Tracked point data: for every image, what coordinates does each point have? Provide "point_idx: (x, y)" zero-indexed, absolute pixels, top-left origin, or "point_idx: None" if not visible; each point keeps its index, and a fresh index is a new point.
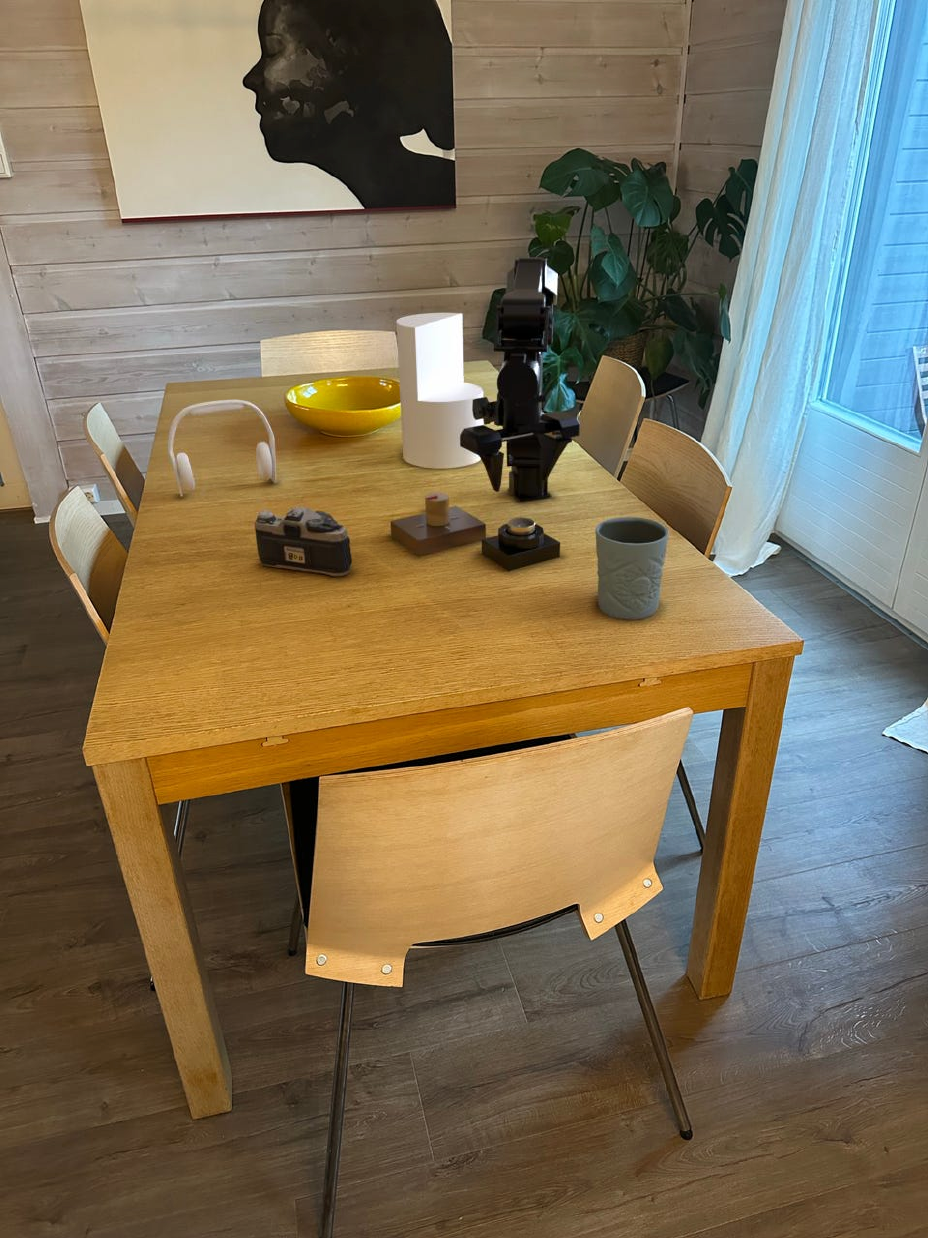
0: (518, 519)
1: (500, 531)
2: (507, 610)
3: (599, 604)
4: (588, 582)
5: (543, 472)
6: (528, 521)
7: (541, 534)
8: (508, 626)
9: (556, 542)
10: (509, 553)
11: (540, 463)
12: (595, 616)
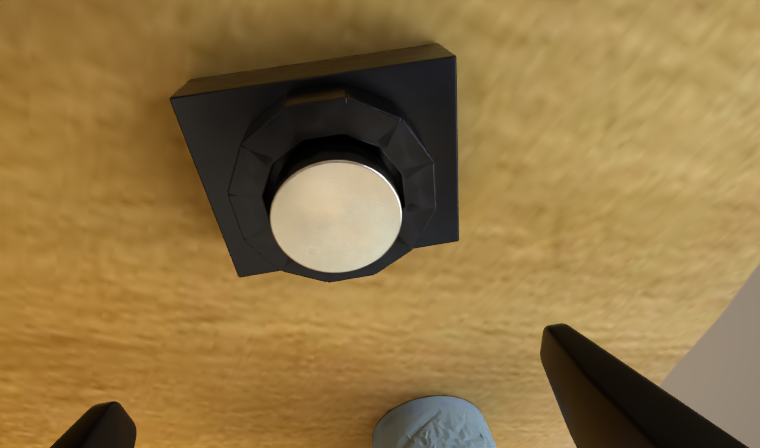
0: (342, 185)
1: (240, 181)
2: (181, 399)
3: (374, 437)
4: (422, 346)
5: (573, 407)
6: (375, 222)
7: (394, 260)
8: (166, 442)
9: (446, 238)
10: (248, 261)
11: (635, 428)
12: (351, 443)
